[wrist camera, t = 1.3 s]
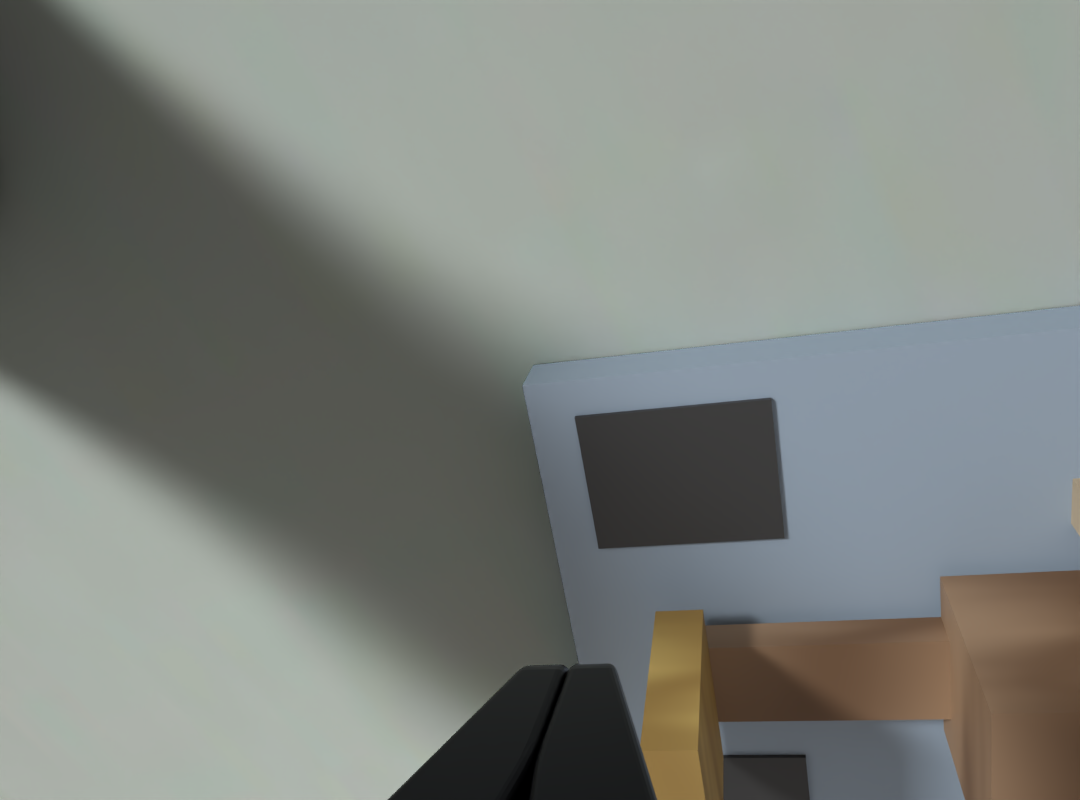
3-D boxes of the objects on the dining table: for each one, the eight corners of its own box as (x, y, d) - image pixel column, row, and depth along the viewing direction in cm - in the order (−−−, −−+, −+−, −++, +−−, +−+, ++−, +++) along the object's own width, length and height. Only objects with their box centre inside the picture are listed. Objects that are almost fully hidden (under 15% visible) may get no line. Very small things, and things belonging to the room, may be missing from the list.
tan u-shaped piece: (1160, 565, 18) (1301, 748, 13) (1147, 727, 19) (1270, 938, 15) (657, 589, 20) (639, 749, 16) (680, 731, 21) (669, 915, 17)
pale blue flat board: (1676, 241, 15) (1756, 259, 14) (1507, 851, 20) (1554, 902, 19) (533, 365, 20) (521, 387, 19) (625, 834, 25) (620, 875, 24)
